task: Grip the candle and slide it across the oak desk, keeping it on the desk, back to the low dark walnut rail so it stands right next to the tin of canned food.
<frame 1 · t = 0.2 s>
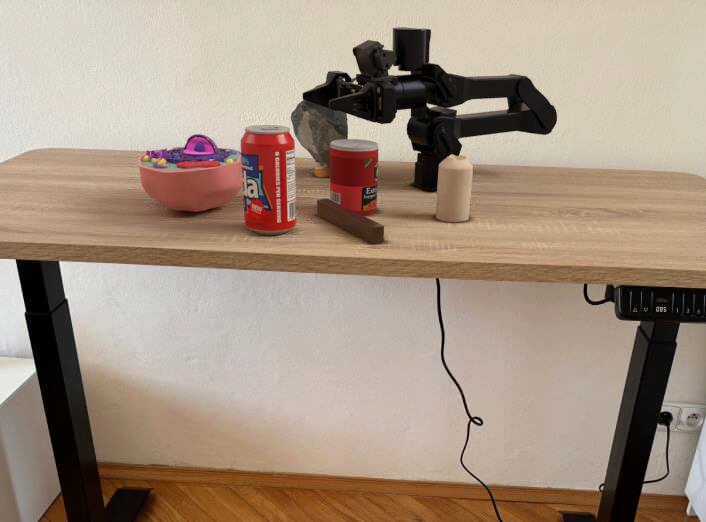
hand: (315, 100, 129), 17 cm above the table, tool horizontal, fingers open, 9 cm apart
soda can: (270, 231, 120), on the table
cell model: (195, 209, 130), on the table
candle: (451, 219, 130), on the table
grey bird figurine: (327, 174, 158), on the table
walnut rail: (348, 227, 123), on the table
canned food: (353, 211, 132), on the table
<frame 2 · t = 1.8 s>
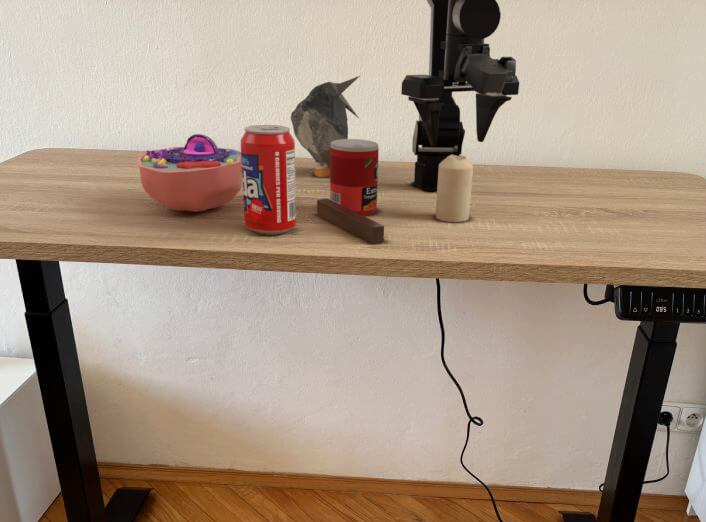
hand: (457, 143, 124), 12 cm above the table, tool pointing down, fingers open, 9 cm apart
nothing on the table moved.
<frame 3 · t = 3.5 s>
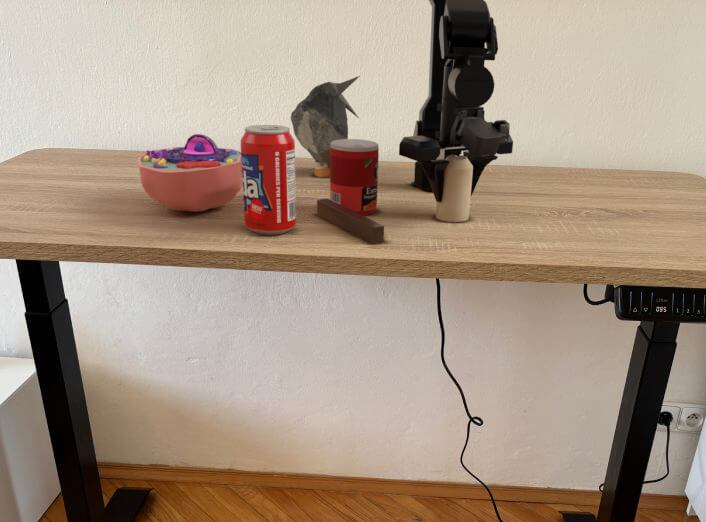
hand: (453, 199, 128), 3 cm above the table, tool pointing down, fingers closed on candle, 5 cm apart
candle: (451, 219, 130), on the table, touching gripper
everything else where it was.
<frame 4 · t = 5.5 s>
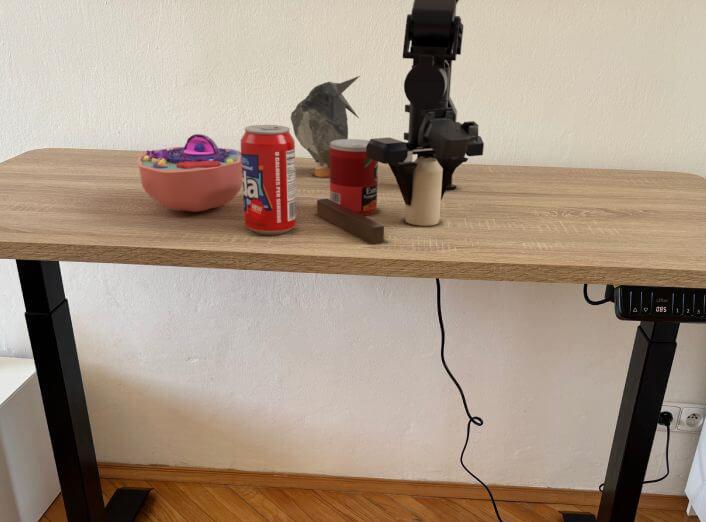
hand: (423, 202, 125), 3 cm above the table, tool pointing down, fingers closed on candle, 5 cm apart
candle: (422, 222, 127), on the table, touching gripper
everything else where it was.
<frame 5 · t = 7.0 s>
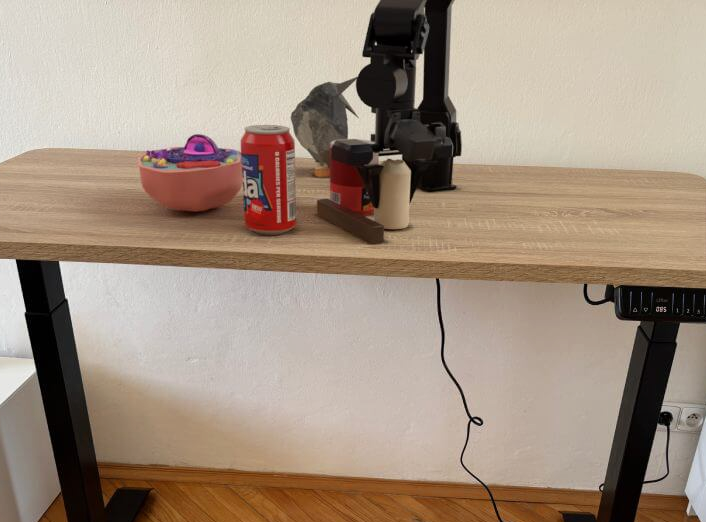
hand: (391, 205, 123), 3 cm above the table, tool pointing down, fingers closed on candle, 5 cm apart
candle: (390, 226, 124), on the table, touching gripper
everything else where it was.
when the fingers open (3 cm above the table, at t = 7.8 s): candle stays where it is, on the table.
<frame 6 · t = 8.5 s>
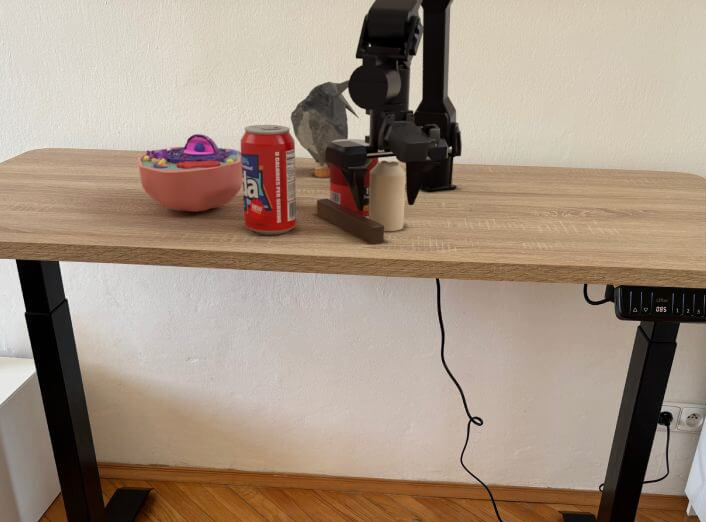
hand: (386, 207, 122), 3 cm above the table, tool pointing down, fingers open, 9 cm apart
candle: (385, 228, 124), on the table
everything else where it was.
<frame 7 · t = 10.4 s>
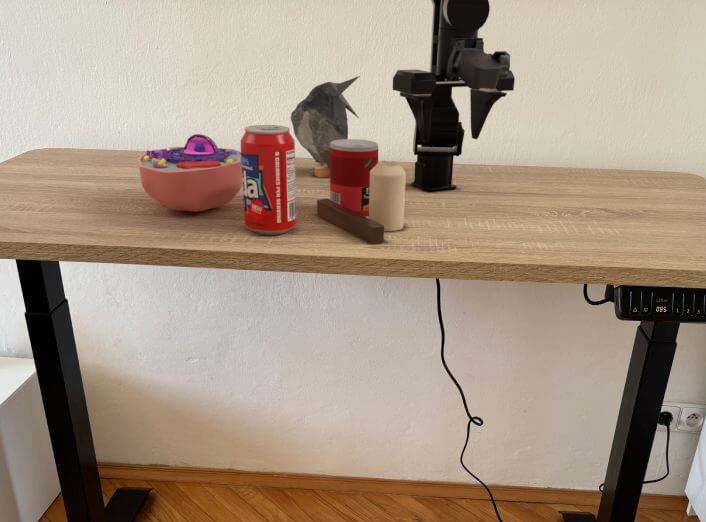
hand: (450, 140, 121), 13 cm above the table, tool pointing down, fingers open, 9 cm apart
nothing on the table moved.
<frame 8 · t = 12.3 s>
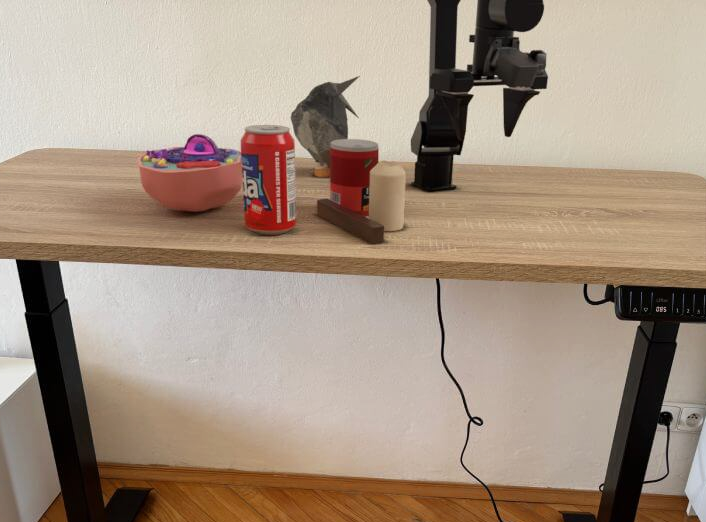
hand: (484, 138, 123), 13 cm above the table, tool pointing down, fingers open, 9 cm apart
nothing on the table moved.
at the end: candle 0.0 cm from the target spot, on the table; candle 11.1 cm from the canned food (horizontally); candle tilted 0° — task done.
